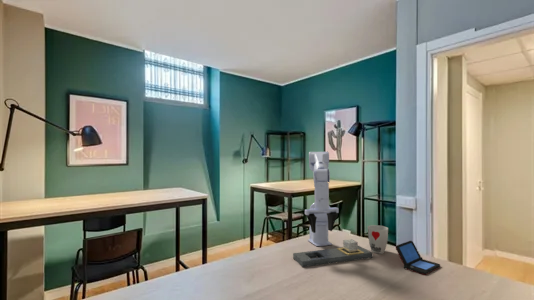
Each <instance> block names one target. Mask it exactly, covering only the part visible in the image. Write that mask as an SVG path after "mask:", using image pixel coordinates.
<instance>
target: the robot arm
mask: <svg viewBox="0 0 534 300" xmlns="http://www.w3.org/2000/svg"><path fill="white" fill-rule="evenodd" d="M329 163H330V152H329V151H309V152H308V166H309V170H310V171H312V173H313V174H312V175H313V176H312V177H313V185H314V186H313V187H314V202H313V203H312V204H311V205H310V206H309V208H308V209H304V215H305V217H306V219H307V221H308V223H309V229H308V230H309V238H308V239H307V241H308V242H310V243H311V244H313V245H314V246H315V247H323V246H325V247H326V246H331V245H333V243H332V242H330V241H329V231H330V232H333V228H334V226H335V223H336V220H337V218H338V214H339V207H331V206H330V197H329V196H330V195H329V194H330V184H329V183H330V181H331V171H330V168H329V165H330V164H329Z"/></svg>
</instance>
